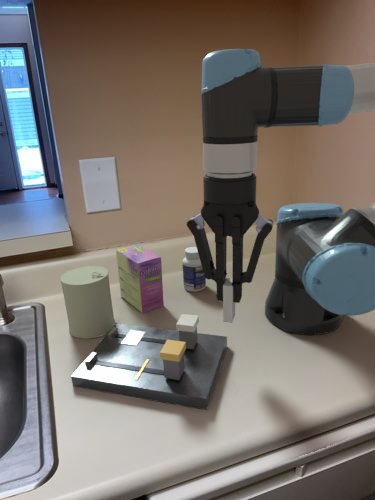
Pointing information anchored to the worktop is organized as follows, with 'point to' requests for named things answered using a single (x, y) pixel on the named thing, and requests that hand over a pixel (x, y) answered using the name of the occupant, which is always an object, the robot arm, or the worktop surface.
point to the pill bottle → (193, 271)
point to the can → (88, 301)
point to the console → (151, 366)
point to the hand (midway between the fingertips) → (229, 318)
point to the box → (140, 277)
